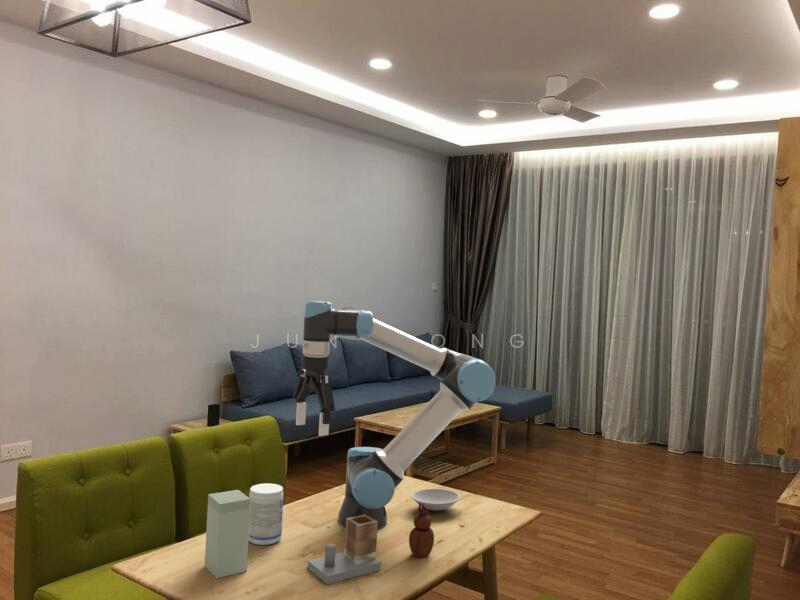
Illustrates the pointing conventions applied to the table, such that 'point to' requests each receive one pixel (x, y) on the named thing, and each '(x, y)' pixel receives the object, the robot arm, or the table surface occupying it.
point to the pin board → (339, 566)
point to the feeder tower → (227, 533)
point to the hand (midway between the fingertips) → (311, 429)
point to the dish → (436, 498)
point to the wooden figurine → (421, 534)
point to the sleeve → (360, 539)
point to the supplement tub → (265, 513)
